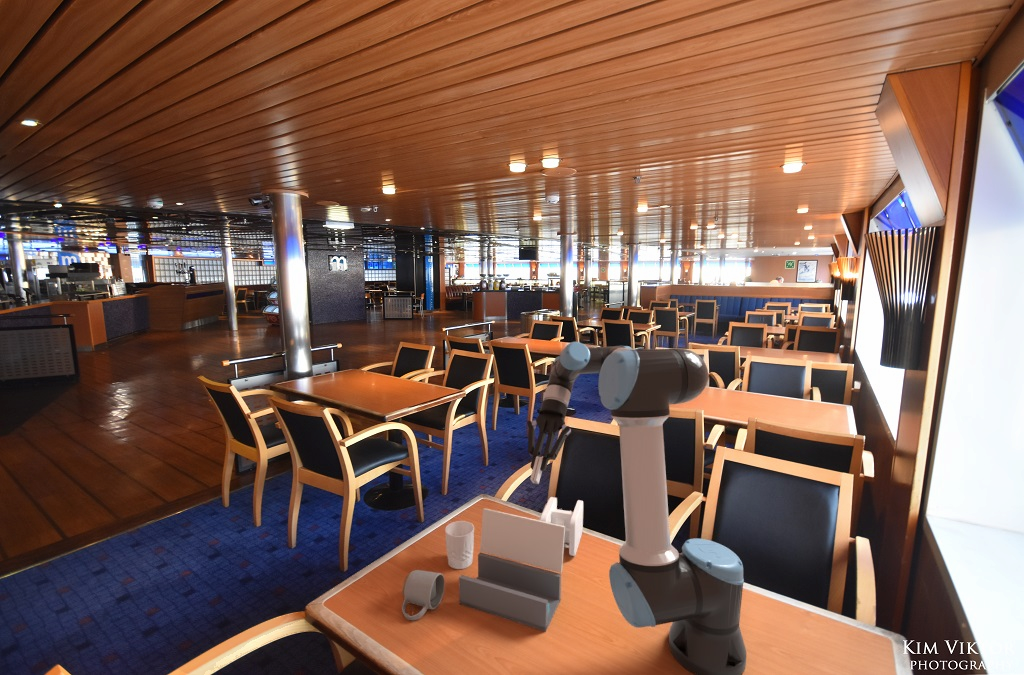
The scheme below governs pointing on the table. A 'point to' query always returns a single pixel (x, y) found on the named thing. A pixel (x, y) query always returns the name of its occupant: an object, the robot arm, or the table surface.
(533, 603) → the cable duct
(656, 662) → the table surface
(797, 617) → the table surface
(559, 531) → the panel
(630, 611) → the robot arm
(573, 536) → the cable organizer
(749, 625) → the table surface
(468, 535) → the white cup
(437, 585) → the ceramic mug
